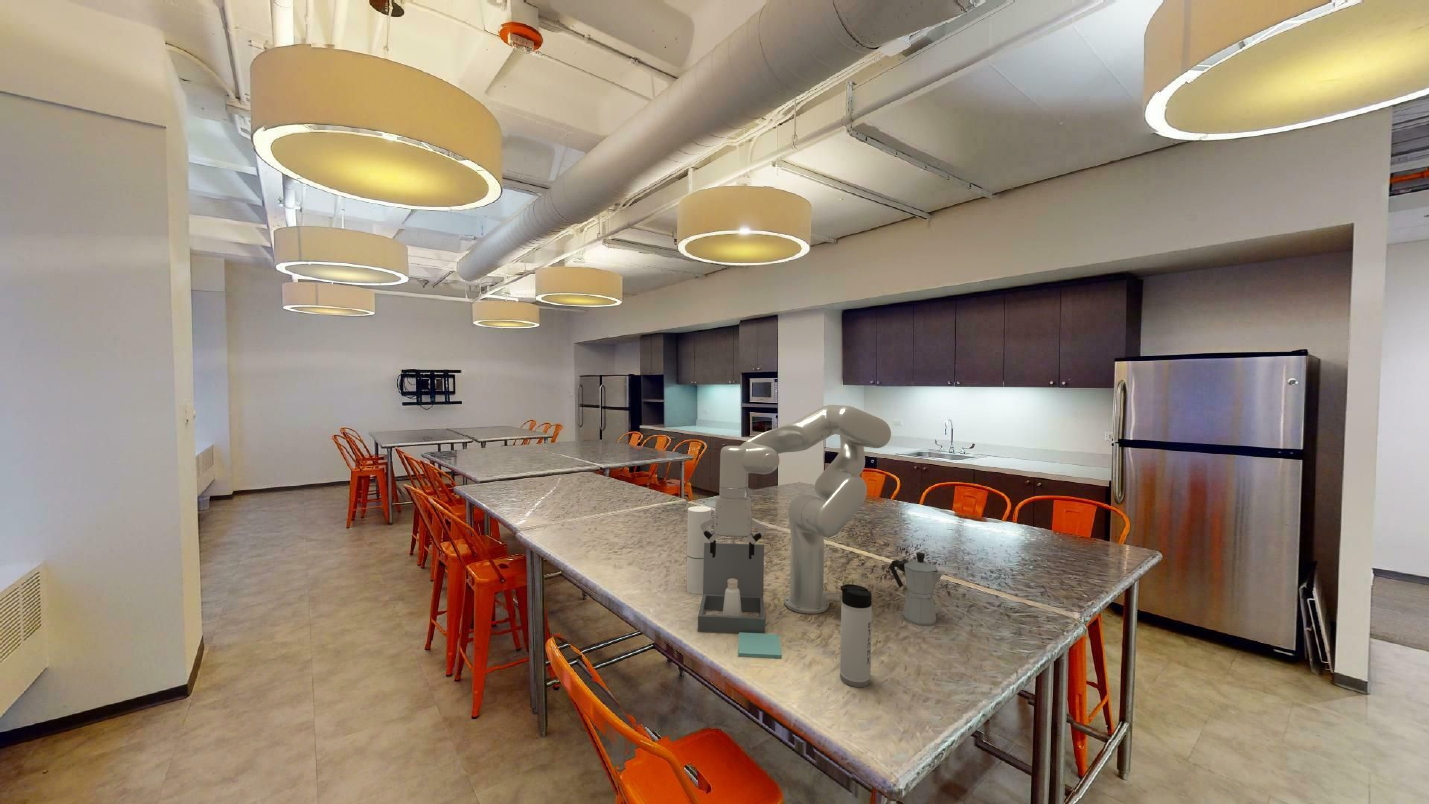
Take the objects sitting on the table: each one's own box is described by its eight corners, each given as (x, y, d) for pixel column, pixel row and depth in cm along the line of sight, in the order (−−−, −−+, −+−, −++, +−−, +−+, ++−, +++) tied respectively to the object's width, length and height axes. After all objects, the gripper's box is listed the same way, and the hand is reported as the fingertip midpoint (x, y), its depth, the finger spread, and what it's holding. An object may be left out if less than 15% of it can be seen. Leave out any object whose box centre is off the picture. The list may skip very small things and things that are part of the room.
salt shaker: (717, 620, 135) (718, 579, 135) (731, 614, 139) (732, 574, 139) (732, 627, 132) (733, 585, 131) (746, 621, 135) (747, 580, 135)
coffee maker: (948, 620, 137) (950, 554, 137) (937, 631, 131) (938, 562, 130) (895, 604, 147) (896, 542, 147) (881, 613, 141) (883, 549, 140)
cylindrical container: (711, 585, 159) (712, 506, 159) (708, 594, 152) (709, 512, 152) (688, 584, 160) (689, 505, 159) (685, 593, 153) (686, 511, 152)
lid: (763, 596, 142) (763, 595, 143) (763, 544, 144) (763, 544, 145) (702, 594, 143) (703, 592, 144) (704, 542, 145) (704, 542, 146)
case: (763, 610, 142) (763, 596, 142) (764, 634, 128) (765, 619, 128) (702, 608, 143) (702, 594, 143) (697, 631, 129) (697, 616, 129)
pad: (779, 637, 127) (779, 634, 127) (781, 658, 117) (781, 655, 117) (738, 635, 127) (739, 632, 127) (738, 656, 117) (738, 653, 117)
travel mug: (834, 671, 111) (836, 581, 111) (863, 670, 112) (865, 581, 112) (844, 688, 105) (846, 593, 105) (875, 687, 106) (877, 592, 105)
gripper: (765, 491, 138) (764, 553, 138) (702, 488, 139) (700, 551, 139) (766, 496, 130) (765, 563, 131) (699, 494, 131) (698, 560, 132)
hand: (732, 556), depth 135 cm, fingers open, 9 cm apart
